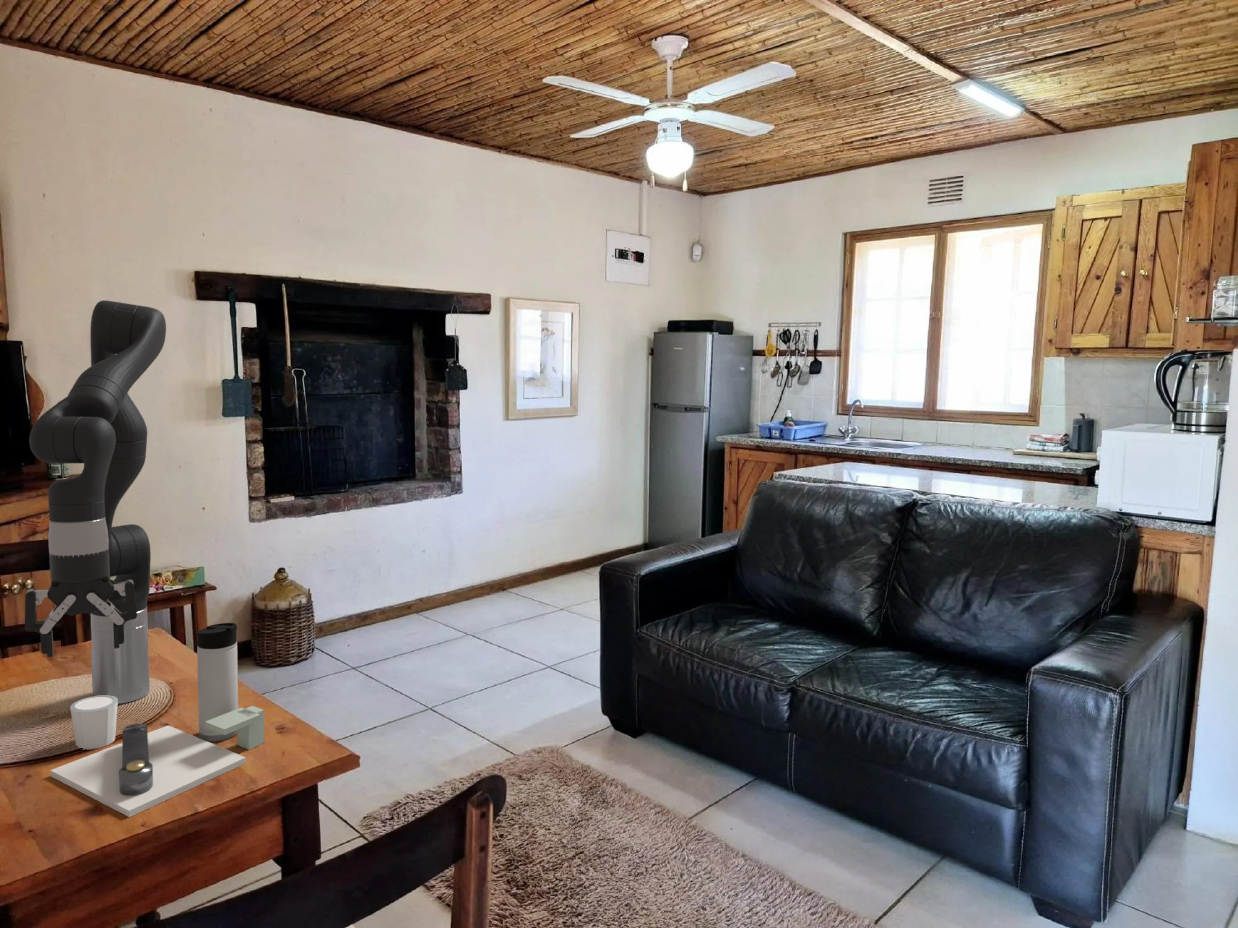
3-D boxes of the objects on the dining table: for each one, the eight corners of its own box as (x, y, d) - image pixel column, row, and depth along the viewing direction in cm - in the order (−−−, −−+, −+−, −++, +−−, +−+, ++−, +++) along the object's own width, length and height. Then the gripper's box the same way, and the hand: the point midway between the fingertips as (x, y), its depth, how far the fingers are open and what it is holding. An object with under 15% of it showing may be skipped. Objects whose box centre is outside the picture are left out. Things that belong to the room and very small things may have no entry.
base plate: (50, 776, 127) (50, 770, 127) (168, 730, 143) (168, 725, 143) (129, 817, 117) (129, 810, 117) (245, 763, 133) (245, 757, 133)
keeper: (205, 755, 135) (205, 721, 134) (249, 736, 142) (248, 704, 142) (224, 763, 133) (224, 729, 132) (268, 744, 140) (267, 711, 139)
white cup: (113, 728, 143) (112, 691, 142) (124, 742, 138) (122, 703, 137) (67, 740, 138) (65, 701, 137) (76, 755, 134) (75, 714, 133)
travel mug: (224, 744, 139) (222, 632, 137) (190, 739, 140) (188, 628, 138) (247, 728, 145) (246, 621, 143) (215, 723, 147) (213, 617, 144)
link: (153, 790, 122) (152, 767, 121) (119, 797, 119) (118, 774, 119) (150, 738, 138) (149, 717, 137) (120, 743, 136) (119, 722, 135)
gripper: (18, 557, 116) (25, 666, 118) (134, 548, 123) (138, 651, 125) (23, 547, 122) (29, 651, 124) (133, 539, 129) (137, 637, 131)
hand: (84, 651), depth 124 cm, fingers open, 8 cm apart
